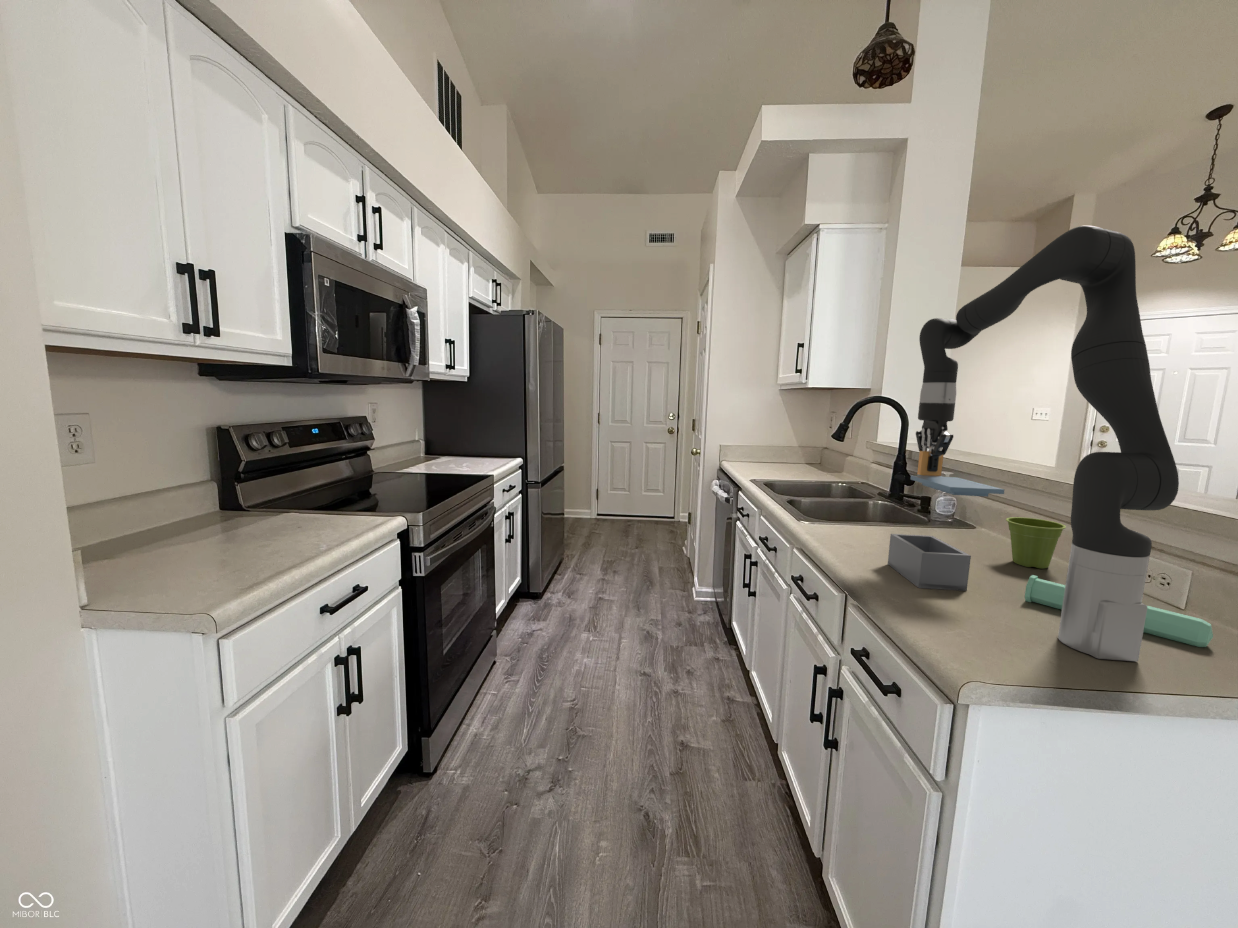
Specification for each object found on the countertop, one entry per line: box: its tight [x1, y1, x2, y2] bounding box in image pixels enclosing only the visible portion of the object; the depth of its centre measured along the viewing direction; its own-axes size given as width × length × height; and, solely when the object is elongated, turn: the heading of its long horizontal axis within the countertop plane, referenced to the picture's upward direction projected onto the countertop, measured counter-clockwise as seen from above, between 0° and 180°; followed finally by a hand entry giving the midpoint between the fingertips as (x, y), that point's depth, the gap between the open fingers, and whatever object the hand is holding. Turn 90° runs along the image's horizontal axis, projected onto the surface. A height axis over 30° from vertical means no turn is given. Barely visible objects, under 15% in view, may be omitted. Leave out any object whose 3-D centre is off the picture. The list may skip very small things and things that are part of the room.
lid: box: [910, 451, 1005, 498], centre depth 115 cm, size 20×11×8 cm, turn 175°
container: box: [1024, 574, 1214, 648], centre depth 94 cm, size 6×6×25 cm
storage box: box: [887, 533, 972, 592], centre depth 116 cm, size 16×10×8 cm, turn 174°
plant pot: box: [1005, 516, 1067, 570], centre depth 127 cm, size 12×12×11 cm
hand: (929, 470), depth 124 cm, fingers closed on lid, 1 cm apart
